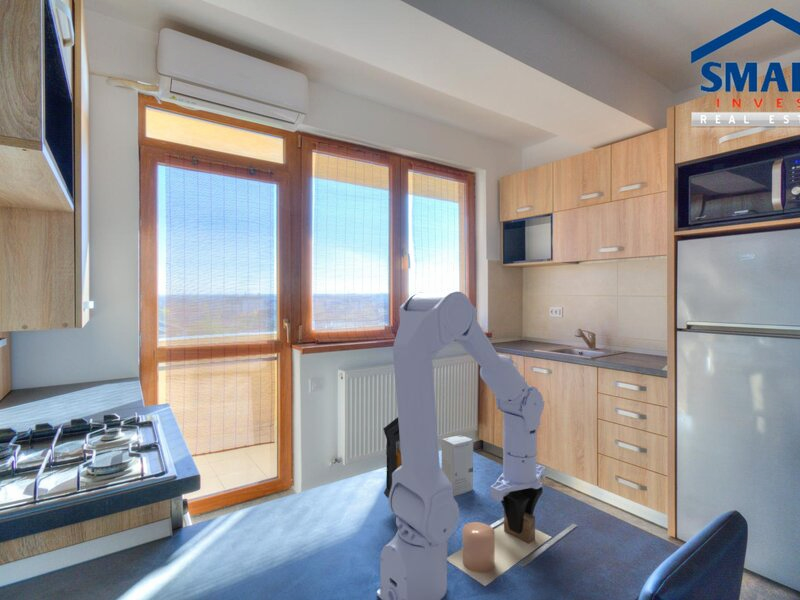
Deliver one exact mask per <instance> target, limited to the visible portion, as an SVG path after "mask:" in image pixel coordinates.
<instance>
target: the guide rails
mask: <svg viewBox="0 0 800 600" xmlns="http://www.w3.org/2000/svg"><path fill="white" fill-rule="evenodd" d="M502 524H504V516H503V517H501V518H500V519H498V520H497V521H495V522H493V523H492V524H490V525H489V526H490V527H492V528H493V529H495V528H497V527H499V526H501V525H502ZM577 527H578V525H577V524H575V523H571V524H570V525H569V526H568V527H566V528H565V529H563V530H562V531H561V532H559V533H558V534H557V535H555V536H554V537H552V538H550V539H549V540H548V542H547V541H546V542H545V543H544V544H542V545H541V546H540V547H538V548H537V549H535V550H534V551H533V552H531V553H530V554H529V555H527V556H526V557H525V558H523V559H522V560H521V561H519V562H518V565H519V566H521V567H522V568H525V566H527V565H528V564H529V563H531V562H533V560H535V559H536V558H537V557H539V556H540V555H541V554H543V553H544V552H546V551H547V550H548V549H549V548H550V547H552V546H553V545H554V544H556V543H557V542H558V541H560V540H561V539H562V538H564V537H565V536H566V535H568V534H569V533H570V532H571V531H573V530H574V529H575V528H577Z"/></svg>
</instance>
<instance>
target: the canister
mask: <svg viewBox="0 0 800 600" xmlns="http://www.w3.org/2000/svg"><path fill="white" fill-rule="evenodd" d="M382 430H383V433H384V435H385V438H386V445H385V446H386V447H385V448H386V449H385V454H386V475H385V476H386V481H385V483H386V487H385V489H384V491H383V494H384V495H385V496H386V498H387V499H389V494H390V490H391V487H392V473H393V472H394V471H395V470H396V469H397V468H398V467H400V466H401V465H402V462H401V449H400V435H399V422H398V416H397V417H395V418H394V419H393V420H392V421H391V422H390V423H388V424H387V425H386V426H385V427H383V429H382Z"/></svg>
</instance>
